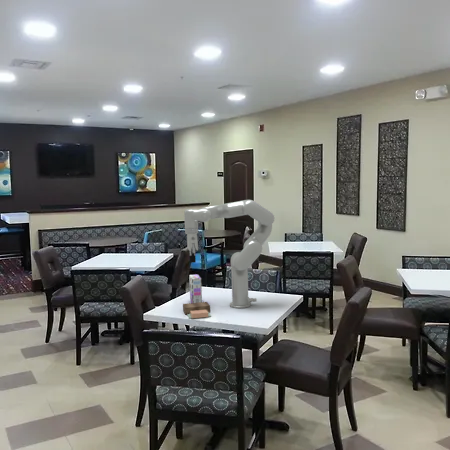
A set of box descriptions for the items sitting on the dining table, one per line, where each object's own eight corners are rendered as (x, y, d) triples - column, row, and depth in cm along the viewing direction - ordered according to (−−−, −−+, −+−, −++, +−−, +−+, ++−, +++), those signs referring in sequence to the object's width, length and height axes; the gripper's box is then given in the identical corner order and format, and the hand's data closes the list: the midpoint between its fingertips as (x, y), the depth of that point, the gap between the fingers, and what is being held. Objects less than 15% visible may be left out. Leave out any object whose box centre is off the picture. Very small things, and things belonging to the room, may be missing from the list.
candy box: (202, 305, 280) (201, 278, 278) (192, 306, 278) (191, 278, 277) (199, 299, 293) (198, 273, 292) (189, 300, 292) (188, 274, 290)
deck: (207, 308, 272) (206, 301, 272) (210, 312, 263) (209, 305, 263) (183, 310, 269) (182, 303, 269) (185, 314, 260) (185, 307, 260)
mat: (208, 313, 263) (208, 312, 263) (211, 316, 255) (211, 315, 255) (187, 315, 260) (187, 314, 260) (189, 318, 253) (189, 317, 253)
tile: (208, 312, 253) (208, 316, 254) (206, 309, 259) (206, 313, 259) (191, 313, 252) (191, 318, 252) (190, 310, 257) (190, 315, 258)
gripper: (200, 231, 263) (201, 264, 265) (195, 229, 277) (196, 259, 279) (186, 232, 261) (188, 265, 263) (183, 229, 276) (184, 260, 277)
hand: (192, 262), depth 271 cm, fingers closed
